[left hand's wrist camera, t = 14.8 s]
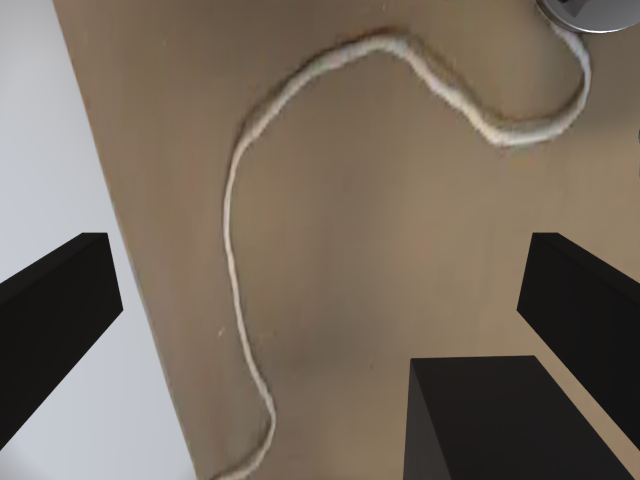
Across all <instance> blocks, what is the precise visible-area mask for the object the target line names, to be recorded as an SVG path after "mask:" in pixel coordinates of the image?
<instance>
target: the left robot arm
mask: <svg viewBox="0 0 640 480" xmlns="http://www.w3.org/2000/svg"><path fill="white" fill-rule="evenodd" d="M536 1H537V3H538V5H539V6H540V8H541V9H542V11H543V12H544V13H545V14H546V15H547V16H548V17H549V18H550V19H551V20H552V21H553V22H555V23H556V24H557V25H559V26H561V27H562V28H565V29H567V30H569V31H573V32H576V33H582V34H601V33H607V32H612V31H617V30H621V29H625V28H627V27H630V26H633V25H635V24H637V23H639V22H640V0H536ZM639 142H640V130H639ZM639 175H640V170H639ZM122 311H123V306H122V301H121V296H120V291H119V287H118V282H117V277H116V272H115V268H114V263H113V258H112V253H111V248H110V243H109V239H108V234H107V233H81V234H80V235H78V236H76V237H75V238H73V239H71V240H70V241H68V242H67V243H65V244H63V245H62V246H60V247H58V248H57V249H55V250H54V251H52V252H50V253H49V254H47V255H46V256H44V257H42V258H41V259H39V260H38V261H36V262H34V263H33V264H31V265H29V266H28V267H26V268H25V269H23V270H21V271H20V272H18V273H16V274H15V275H13V276H12V277H10V278H8V279H7V280H5V281H4V282H2V283H0V451H1V449H2V448H3V447H4V446H5V445H6V444H7V443H8V441H9V440H10V439H11V438H12V437H13V436H14V435H15V433H16V432H17V431H18V430H19V429H20V428H21V427H22V425H23V424H24V423H25V422H26V421H27V420H28V419H29V417H30V416H31V415H32V414H33V413H34V412H35V411H36V409H37V408H38V407H39V406H40V405H41V404H42V403H43V401H44V400H45V399H46V398H47V397H48V396H49V395H50V393H51V392H52V391H53V390H54V389H55V388H56V387H57V385H58V384H59V383H60V382H61V381H62V380H63V379H64V377H65V376H66V375H67V374H68V373H69V372H70V371H71V369H72V368H73V367H74V366H75V365H76V364H77V363H78V361H79V360H80V359H81V358H82V357H83V356H84V355H85V353H86V352H87V351H88V350H89V349H90V348H91V347H92V345H93V344H94V343H95V342H96V341H97V340H98V339H99V337H100V336H101V335H102V334H103V333H104V332H105V331H106V329H107V328H108V327H109V326H110V325H111V324H112V323H113V321H114V320H115V319H116V318H117V317H118V316H119V315H120V313H121V312H122ZM517 311H518V312H519V313H520V315H521V316H522V317H523V318H524V319H525V320H526V321H527V323H528V324H529V325H530V326H531V327H532V328H533V329H534V331H535V332H536V333H537V334H538V335H539V336H540V337H541V339H542V340H543V341H544V342H545V343H546V344H547V345H548V347H549V348H550V349H551V350H552V351H553V352H554V353H555V355H556V356H557V357H558V358H559V359H560V360H561V361H562V363H563V364H564V365H565V366H566V367H567V368H568V369H569V371H570V372H571V373H572V374H573V375H574V376H575V377H576V379H577V380H578V381H579V382H580V383H581V384H582V385H583V387H584V388H585V389H586V390H587V391H588V392H589V393H590V395H591V396H592V397H593V398H594V399H595V400H596V401H597V403H598V404H599V405H600V406H601V407H602V408H603V409H604V411H605V412H606V413H607V414H608V415H609V416H610V417H611V419H612V420H613V421H614V422H615V423H616V424H617V425H618V427H619V428H620V429H621V430H622V431H623V432H624V433H625V435H626V436H627V437H628V438H629V439H630V440H631V441H632V443H633V444H634V445H635V446H636V447H637V448H638V449H639V451H640V283H638V282H636V281H635V280H633V279H632V278H630V277H628V276H627V275H625V274H624V273H622V272H620V271H619V270H617V269H615V268H614V267H612V266H611V265H609V264H607V263H606V262H604V261H603V260H601V259H599V258H598V257H596V256H594V255H593V254H591V253H590V252H588V251H586V250H585V249H583V248H582V247H580V246H578V245H577V244H575V243H573V242H572V241H570V240H569V239H567V238H565V237H564V236H562V235H561V234H559V233H533V234H532V239H531V243H530V248H529V253H528V258H527V262H526V267H525V272H524V277H523V282H522V286H521V291H520V296H519V301H518V306H517Z"/></svg>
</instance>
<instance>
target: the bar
mask: <svg viewBox="0 0 640 480" xmlns="http://www.w3.org/2000/svg"><path fill="white" fill-rule="evenodd" d="M403 480H635V479H634V478H633V477H632V475H631V474H630V473H629V472H628V470H627V469H626V468H625V467H624V465H623V464H622V463H621V462H620V461H619V459H618V458H617V457H616V456H615V454H614V453H613V452H612V451H611V449H610V448H609V447H608V446H607V444H606V443H605V442H604V441H603V440H602V438H601V437H600V436H599V435H598V433H597V432H596V431H595V430H594V428H593V427H592V426H591V425H590V423H589V422H588V421H587V420H586V419H585V417H584V416H583V415H582V414H581V412H580V411H579V410H578V409H577V407H576V406H575V405H574V404H573V402H572V401H571V400H570V399H569V398H568V396H567V395H566V394H565V393H564V391H563V390H562V389H561V388H560V386H559V385H558V384H557V383H556V381H555V380H554V379H553V378H552V377H551V375H550V374H549V373H548V372H547V370H546V369H545V368H544V367H543V365H542V364H541V363H540V362H539V360H538V359H537V358H536V357H535V356H534V355H530V356H489V357H449V358H411V360H410V375H409V391H408V408H407V424H406V440H405V457H404V473H403Z"/></svg>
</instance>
